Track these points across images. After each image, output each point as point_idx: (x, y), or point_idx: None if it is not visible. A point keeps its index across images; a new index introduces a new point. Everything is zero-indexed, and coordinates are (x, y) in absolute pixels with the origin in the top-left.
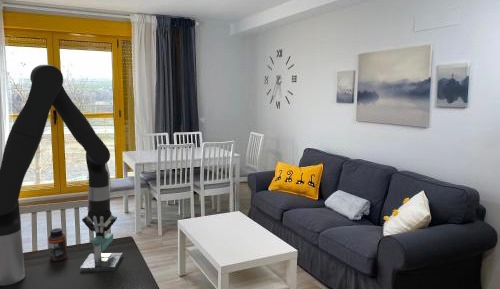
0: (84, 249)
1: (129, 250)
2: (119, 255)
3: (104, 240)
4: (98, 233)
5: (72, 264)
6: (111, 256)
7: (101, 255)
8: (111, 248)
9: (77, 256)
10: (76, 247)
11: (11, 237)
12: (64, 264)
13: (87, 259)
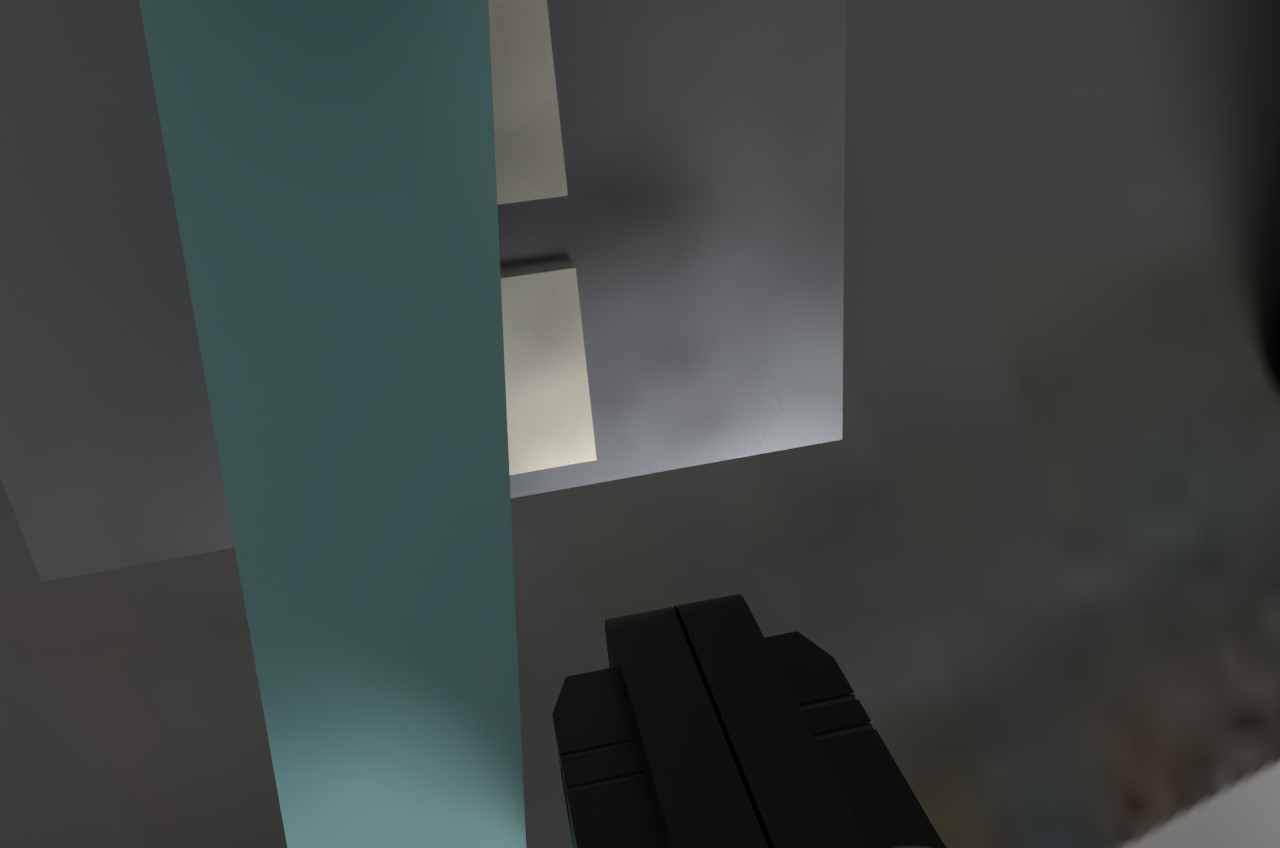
0: (1022, 686)
1: (84, 811)
2: (24, 424)
3: (332, 462)
4: (810, 842)
5: (1093, 18)
6: None
7: (526, 348)
8: (534, 811)
9: (1077, 407)
10: (1169, 726)
11: None
12: (1255, 11)
13: (809, 110)
